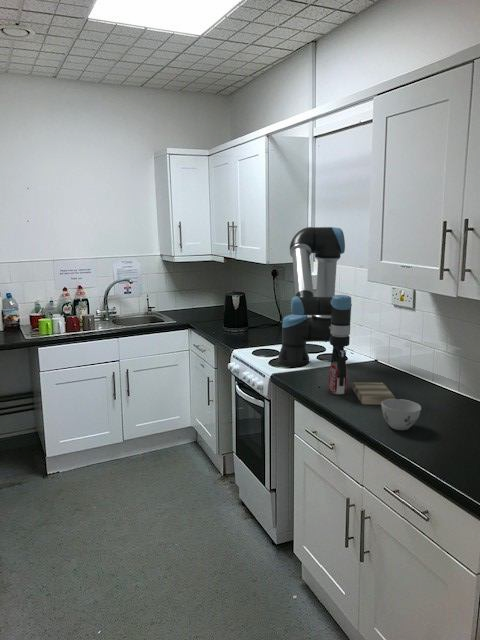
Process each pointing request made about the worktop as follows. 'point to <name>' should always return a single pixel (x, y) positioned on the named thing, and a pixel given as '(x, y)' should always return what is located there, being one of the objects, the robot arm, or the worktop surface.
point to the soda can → (333, 380)
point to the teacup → (400, 413)
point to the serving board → (372, 392)
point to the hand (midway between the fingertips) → (337, 388)
